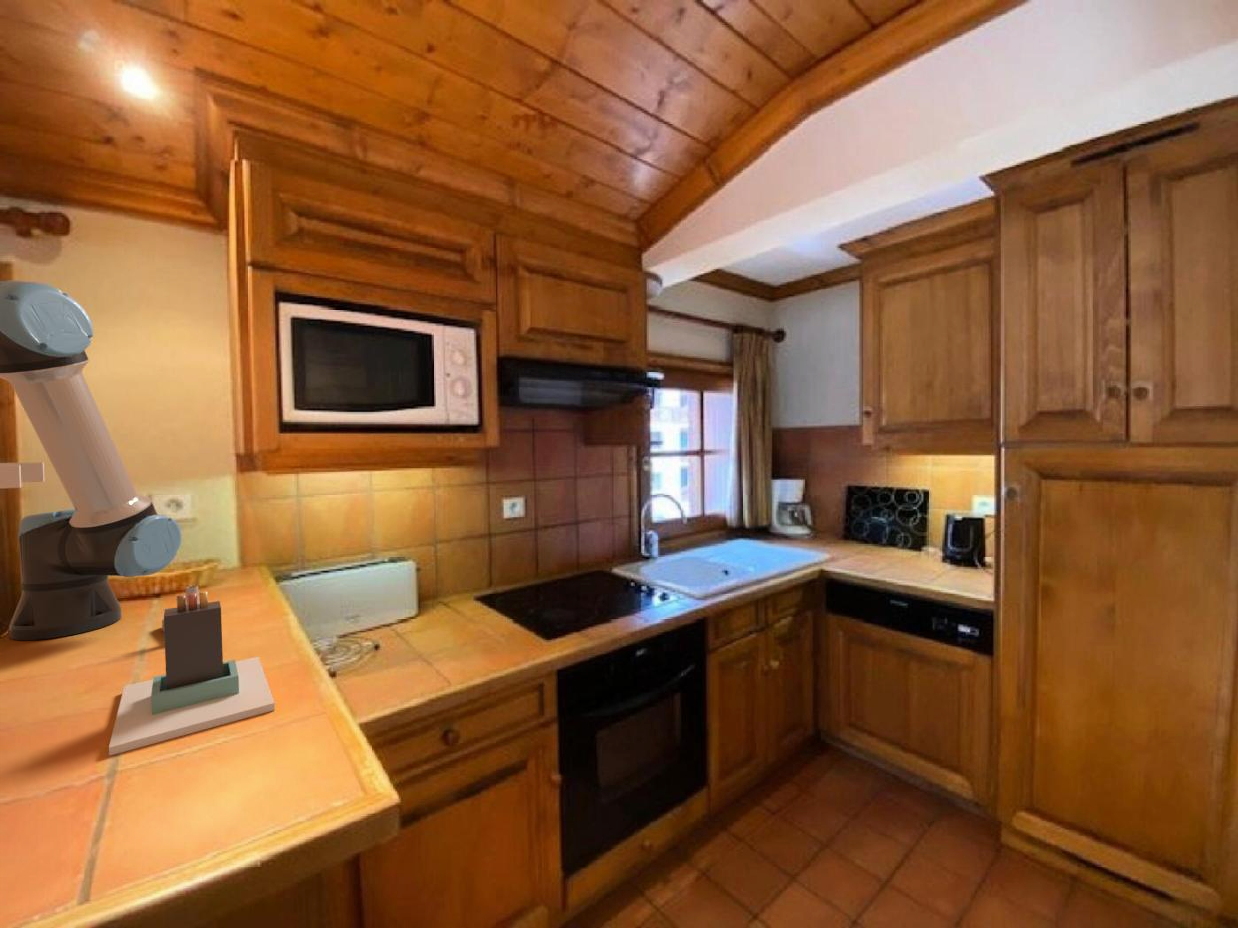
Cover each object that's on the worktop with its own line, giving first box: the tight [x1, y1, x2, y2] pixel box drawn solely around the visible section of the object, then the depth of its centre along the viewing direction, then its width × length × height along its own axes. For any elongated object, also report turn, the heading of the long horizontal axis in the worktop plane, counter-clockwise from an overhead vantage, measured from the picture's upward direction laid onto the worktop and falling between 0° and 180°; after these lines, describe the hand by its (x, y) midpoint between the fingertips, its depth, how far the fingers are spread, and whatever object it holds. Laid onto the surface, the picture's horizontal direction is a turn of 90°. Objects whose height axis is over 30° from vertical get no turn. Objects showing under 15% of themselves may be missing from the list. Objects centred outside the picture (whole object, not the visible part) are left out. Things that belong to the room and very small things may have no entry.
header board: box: [108, 656, 276, 757], centre depth 73 cm, size 20×16×4 cm
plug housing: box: [163, 591, 224, 690], centre depth 72 cm, size 4×6×14 cm, turn 130°
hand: (33, 474), depth 68 cm, fingers open, 13 cm apart
